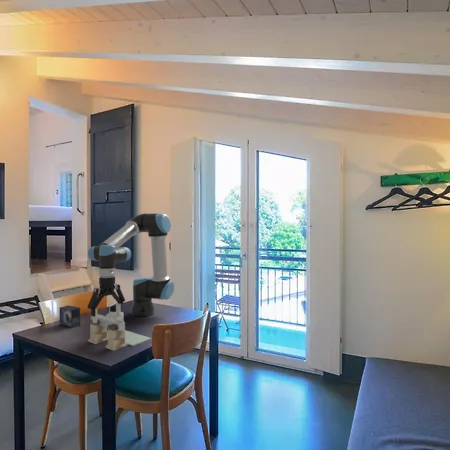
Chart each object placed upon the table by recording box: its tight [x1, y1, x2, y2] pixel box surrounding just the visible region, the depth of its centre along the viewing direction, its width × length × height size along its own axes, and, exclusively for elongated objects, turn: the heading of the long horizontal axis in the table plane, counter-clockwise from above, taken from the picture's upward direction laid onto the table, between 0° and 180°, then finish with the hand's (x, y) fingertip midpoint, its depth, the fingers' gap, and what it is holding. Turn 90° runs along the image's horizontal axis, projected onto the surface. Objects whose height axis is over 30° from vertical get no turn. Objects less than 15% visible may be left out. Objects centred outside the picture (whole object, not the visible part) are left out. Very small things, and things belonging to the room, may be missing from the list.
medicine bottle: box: [105, 303, 125, 322], centre depth 202 cm, size 7×7×12 cm
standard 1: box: [87, 319, 108, 345], centre depth 178 cm, size 8×6×11 cm
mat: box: [107, 329, 152, 347], centre depth 183 cm, size 12×26×1 cm, turn 55°
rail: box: [90, 313, 126, 331], centre depth 174 cm, size 22×4×4 cm, turn 55°
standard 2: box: [105, 325, 128, 352], centre depth 170 cm, size 8×6×11 cm
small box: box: [58, 304, 81, 329], centre depth 201 cm, size 11×6×10 cm, turn 62°
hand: (106, 319), depth 173 cm, fingers open, 13 cm apart
